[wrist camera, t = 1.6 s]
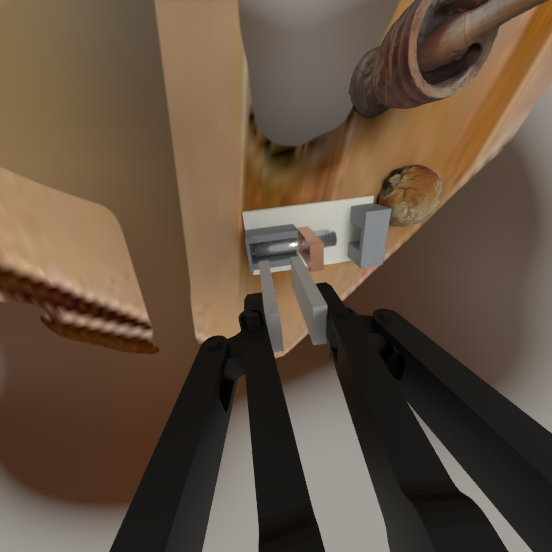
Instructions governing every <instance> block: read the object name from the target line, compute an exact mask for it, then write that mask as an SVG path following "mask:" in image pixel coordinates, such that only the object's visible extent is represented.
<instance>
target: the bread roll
mask: <svg viewBox="0 0 552 552" xmlns="http://www.w3.org/2000/svg"><path fill="white" fill-rule="evenodd" d="M441 195H442V183H441V180H440V179H439V177H438V176H437V174H436V173H435V172H433V171H432V170H431V169H429V168H427V167H425V166H421V165H412V166H408V167H403V168H399V169H396V170H395V171H393V173H392V175H391V177H389V179H388V180H387V182H386V183H385V184H384V187H383V189H382V191H381V193H380V197H379V202H378V205H381V206H384V207H387V208H391V215H390V221H389V224H391V225H393V226H399V227H406V226H409V225H411V224H417V223H420V222H423V221H425V220H427V219H428V218H430V217H431V216H432V215H433V214H434V213H435V212H436V210H437V208H438V206H439V205H440V199H441Z"/></svg>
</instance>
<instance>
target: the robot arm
mask: <svg viewBox="0 0 552 552" xmlns="http://www.w3.org/2000/svg"><path fill="white" fill-rule="evenodd" d="M290 263H291V276H292V287H293V290H294V293H295V295H296V298H297V301H298V304H299V306H300V309H301V312H302V315H303V318H304V320H305V323H306V326H307V329H308V331H309V334H310V337H311V340H312V342H313V345H319V344H325V343H326V342H327V338H328V340H329V359H331V356H332V359H333V362H334V365H335V368H336V371H337V374H338V378H339V381H340V384H341V387H342V390H343V393H344V396H345V399H346V402H347V406H348V409H349V412H350V415H351V418H352V421H353V424H354V427H355V430H356V434H357V436H358V440H359V443H360V446H361V449H362V452H363V455H364V458H365V462H366V465H367V468H368V471H369V474H370V477H371V480H372V483H373V486H374V489H375V493H376V496H377V499H378V502H379V505H380V508H381V511H382V515H383V518H384V521H385V525H386V529H387V537H388V544H389V548H390V552H508V550H507V549H506V547H505V546H504V544H503V542H502V541H501V539H500V537H499V536H498V534H497V532H496V531H495V529H494V528H493V526H492V524H491V523H490V521H489V520H488V518H487V517H486V516H485V514H484V513H483V511H482V510H481V508H480V507H478V505H477V504H476V503H475V502H474V501H473V500H472V499H471V498H469V497H468V496H466V495H465V494H463V493H462V492H460V491H459V490H458V488H457V487H456V486H455V484H454V483H453V482H452V480H451V478H450V476H449V475H448V473H447V471H446V469H445V468H444V466H443V464H442V463H441V461H440V459H439V457H438V455H437V454H436V452H435V450H434V448H433V447H432V445H431V443H430V441H429V440H428V438H427V437H426V434H425V433H424V431H423V429H422V427H421V426H420V424H419V422H418V421H417V419H416V417H415V415H414V414H413V412H412V410H411V408H410V407H409V405H408V403H409V404H410V406H411V407H412V408H413V409H414V410H415V411H416V413H417V414H418V415H419V416H420V417H421V419H422V420H423V421H424V422H425V423H426V424H427V426H428V427H429V428H430V429H431V431H432V432H433V433H434V434H435V435H436V437H437V438H438V439H439V440H440V441H441V442H442V444H443V445H444V446H445V447H446V448H447V450H448V451H449V452H450V453H451V454H452V456H453V457H454V458H455V459H456V460H457V462H458V463H459V464H460V465H461V466H462V467H463V469H464V470H465V471H466V472H467V474H468V475H469V476H470V477H471V478H472V479H473V481H474V482H475V483H476V484H477V485H478V487H479V488H480V489H481V490H482V491H483V493H484V494H485V495H486V496H487V497H488V499H489V500H490V501H491V502H492V503H493V504H494V506H495V507H496V508H497V509H498V511H499V512H500V513H501V514H502V515H503V517H504V518H505V519H506V520H507V521H508V522H509V524H510V525H511V526H512V527H513V528H514V530H515V531H516V532H517V533H518V534H519V536H520V537H521V538H522V539H523V540H524V542H525V543H526V544H527V545H528V546H529V547H530V549H531V550H532V551H533V552H552V433H550V432H549V431H548V430H546V429H545V428H544V427H542V426H541V425H540V424H539V423H537V422H536V421H535V420H534V419H532V418H531V417H530V416H529V415H527V414H526V413H525V412H523V411H522V410H521V409H520V408H518V407H517V406H516V405H514V404H513V403H512V402H511V401H509V400H508V399H507V398H505V397H504V396H503V395H502V394H500V393H499V392H498V391H496V390H495V389H494V388H493V387H491V386H490V385H489V384H487V383H486V382H485V381H484V380H482V379H481V378H480V377H478V376H477V375H476V374H475V373H473V372H472V371H471V370H469V369H468V368H467V367H466V366H464V365H463V364H462V363H461V362H459V361H458V360H457V359H455V358H454V357H453V356H452V355H450V354H449V353H448V352H446V351H445V350H444V349H443V348H441V347H440V346H439V345H437V344H436V343H435V342H434V341H432V340H431V339H430V338H429V337H427V336H426V335H425V334H423V333H422V332H421V331H420V330H418V329H417V328H416V327H414V326H413V325H412V324H411V323H409V322H408V321H407V320H405V319H404V318H403V317H402V316H400V315H399V314H398V313H396V312H394V311H392V310H389V309H378V310H375V311H374V312H373V315H372V316H365V315H357V314H356V313H355V312H354V311H353V310H352V309H350V308H348V307H345V305H344V304H343V302H342V301H341V299H340V298H339V297H338V295H337V294H336V292H335V291H334V289H333V288H332V286H331V285H329V284H327V283H326V282H324V283H318V284H315V282H314V280H313V279H312V277H311V275H310V273H309V272H308V270H307V268H306V266H305V264H304V263H303V261H302V259H301V257H300V256H294V257H290ZM259 269H260V278H261V287H262V292H261V293H255V294H248V295H247V296H246V298H245V299H244V311H243V312H242V313H241V314H240V315H239V323H240V327H241V331H240V333H238V334H237V335H235V336H233V337H231V338H229V339H226V338H225V337H224V336H219V335H217V336H213V337H210V338H208V339H207V340H206V341H204V342H203V344H202V345H201V347H200V349H199V351H198V354H197V356H196V358H195V361H194V363H193V365H192V367H191V370H190V372H189V374H188V377H187V378H186V381H185V383H184V385H183V387H182V390H181V392H180V394H179V396H178V399H177V401H176V403H175V405H174V408H173V410H172V412H171V415H170V417H169V419H168V421H167V423H166V426H165V428H164V430H163V432H162V435H161V437H160V439H159V441H158V444H157V446H156V448H155V450H154V453H153V455H152V457H151V459H150V462H149V464H148V466H147V468H146V471H145V473H144V475H143V477H142V480H141V482H140V484H139V486H138V489H137V491H136V493H135V495H134V498H133V500H132V502H131V504H130V506H129V509H128V511H127V513H126V515H125V518H124V520H123V522H122V524H121V527H120V529H119V531H118V534H117V536H116V538H115V540H114V542H113V545H112V547H111V549H110V551H109V552H202V549H203V543H204V539H205V534H206V529H207V525H208V520H209V515H210V510H211V505H212V501H213V496H214V491H215V486H216V482H217V477H218V472H219V467H220V462H221V458H222V453H223V448H224V443H225V438H226V433H227V429H228V424H229V419H230V414H231V410H232V404H233V400H234V395H235V391H236V385H237V381H238V378H239V377H241V376H243V375H246V387H247V398H248V409H249V421H250V432H251V444H252V455H253V466H254V477H255V488H256V499H257V511H258V523H259V552H325V549H324V546H323V542H322V539H321V534H320V531H319V528H318V524H317V521H316V518H315V515H314V512H313V508H312V505H311V501H310V497H309V493H308V489H307V485H306V481H305V477H304V473H303V469H302V465H301V461H300V457H299V453H298V449H297V445H296V441H295V437H294V433H293V429H292V425H291V421H290V417H289V413H288V409H287V405H286V401H285V397H284V393H283V389H282V385H281V381H280V377H279V373H278V369H277V365H276V361H275V357H274V353H273V352H277V351H283V350H284V348H283V339H282V331H281V322H280V314H279V308H278V304H277V299H276V294H275V289H274V285H273V280H272V275H271V270H270V266H269V261H268V260H266V261H259ZM407 402H408V403H407Z"/></svg>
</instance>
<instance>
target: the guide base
mask: <svg viewBox="0 0 552 552" xmlns="http://www.w3.org/2000/svg"><path fill="white" fill-rule="evenodd" d="M373 199H374V196H372V195H368V196H360V197H352V198H344V199H337V200H329V201H321V202H313V203H305V204H297V205H289V206H282V207H274V208H266V209H258V210H250V211H242V215H243V221H244V226H245V243H246V249H247V254H248V260H249V265H250V271H251V273H253V275H257V274H260V269H259V261H266V260H268V261H269V266H270V270H271V272H278V271H285V270H291V263H290V257H294V256H300V257H301V259H302V261H303V263H304V264H305V266H306V267H308V266H307V265H306V263H305V261H304V260H303V258H302V256H301V254H300V253H299V251H298V252H290V253H283V254H276V255H269V256H262V257H255V256H254V250H253V243H260V242H267V241H274V240H282V239H289V238H296V237H298V230H297V228H300V227H309V228H310V229H311V230H312V231H313V232H314V233H318V232H325V231H333V230H334V231H335V233H336V237H337V243H336V246H333V247H326V248H324V265H326V264H333V263H340V262H347V261H353V262H355V263H356V264H357V265H358V266H359V267H360V268H363V267H370V266H377V265H382V264H383V257H384V251H385V245H386V239H387V233H388V227H389V221H390V215H391V208H387V207H384V206H381V205H378V204H375V203H373Z"/></svg>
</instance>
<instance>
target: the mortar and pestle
mask: <svg viewBox="0 0 552 552" xmlns="http://www.w3.org/2000/svg"><path fill="white" fill-rule="evenodd" d="M546 1H548V0H415V1H414V2H413V3H412V4H411V5H410V6H409V7H408V8H407V9H406V10H405V11H404V12H403V14H402V15H401V16H400V17H399V19H398V20H397V21H396V22H395V23H394V24H393V25H392V27H391V28H390V30H389V31H388V33H387V35H386V37H385V38H384V40H383V42H382V44H381V46H380V47H377V48H374V49H372V50H371V51H369V52H367V53H366V54H365V55H364V56H363V57H362V59H361V60H360V62H359V63H358V65H357V66H356V68H355V70H354V72H353V75H352V78H351V83H350V89H349V94H350V96H351V101H352V103H353V105H354V107H355V108H356V109H357V111H358V112H359V113H360V114H361V115H363V116H366V117H374V116H377V115H380V114H382V113H383V112H385V111H386V110H388V109H389V108H390V107H392V108H398V109H407V108H414V107H418V106H421V105H423V104H426V103H430V102H434V101H437V100H441V99H444V98H447V97H449V96H452V95H454V94H456V93H457V92H459V91H460V90H461V89H462V88H463V87H465V86H466V85H467V84H469V83H470V81H471V80H472V79H473V78H474V77H475V76H476V75H477V73H478V72H479V70H480V69H481V67H482V65H483V64H484V62H485V61H486V59H487V57H488V55H489V53H490V51H491V48H492V45H493V42H494V40H495V38H496V36H497V33H498V29H499V26H500V25H502V24H504V23H505V22H507V21H509V20H510V19H512V18H514V17H516V16H518V15H520V14H522V13H524V12H526V11H528V10H530V9H532V8H533V7H535V6H537V5H540V4H542V3H544V2H546Z"/></svg>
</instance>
